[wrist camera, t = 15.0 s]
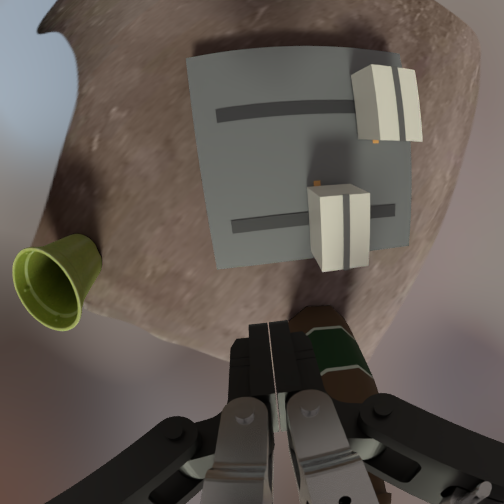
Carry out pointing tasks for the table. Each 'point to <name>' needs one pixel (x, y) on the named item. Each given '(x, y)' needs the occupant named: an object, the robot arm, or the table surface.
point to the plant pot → (57, 279)
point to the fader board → (289, 149)
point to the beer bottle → (339, 364)
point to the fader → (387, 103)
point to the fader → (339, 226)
